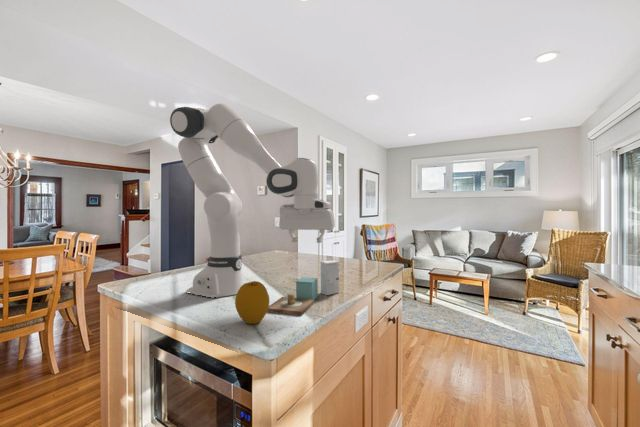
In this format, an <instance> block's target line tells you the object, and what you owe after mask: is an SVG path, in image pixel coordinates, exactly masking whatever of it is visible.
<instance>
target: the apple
mask: <svg viewBox="0 0 640 427" xmlns="http://www.w3.org/2000/svg"><path fill="white" fill-rule="evenodd" d="M235 295H236V296H235V300H234V304H235V309H236V313H237V315H238V316H239V317H240V319H241V320H242V321H244V322H245V323H246V324H249V325H255V324H258V323H260V322H261V321H263V319H264V318H265V316H266V314H267V313H268V312H267V310H268V308H269V306H270V295H269V293H268V290H267V287H266V286H265V285H264V284H263V283H262V282H260V281H256V280H255V281H249V282H246V283H243V285H242V286H241V287H240V289H239V290H238V292H237V294H235Z"/></svg>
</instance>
